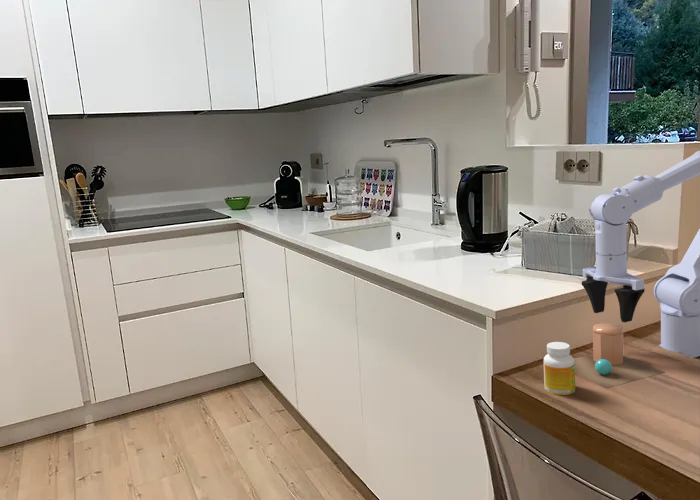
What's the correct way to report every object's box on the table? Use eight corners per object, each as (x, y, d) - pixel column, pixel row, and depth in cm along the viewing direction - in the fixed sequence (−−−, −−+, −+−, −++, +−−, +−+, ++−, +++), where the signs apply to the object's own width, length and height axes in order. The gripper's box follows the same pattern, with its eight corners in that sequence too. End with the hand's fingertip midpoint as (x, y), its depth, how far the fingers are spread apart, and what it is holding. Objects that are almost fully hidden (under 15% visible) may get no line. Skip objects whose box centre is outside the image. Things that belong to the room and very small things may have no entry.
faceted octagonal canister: (609, 352, 114) (608, 321, 113) (629, 361, 109) (629, 328, 107) (587, 358, 112) (586, 326, 111) (607, 366, 107) (606, 333, 106)
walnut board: (609, 355, 116) (609, 349, 115) (665, 378, 102) (665, 372, 102) (555, 368, 112) (555, 363, 111) (606, 394, 98) (606, 388, 98)
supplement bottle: (578, 401, 97) (576, 350, 95) (547, 401, 98) (545, 350, 97) (572, 388, 102) (570, 339, 101) (542, 388, 103) (540, 340, 102)
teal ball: (603, 369, 106) (603, 355, 105) (615, 375, 103) (615, 360, 103) (591, 373, 105) (591, 358, 105) (603, 378, 102) (602, 363, 102)
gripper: (570, 251, 115) (572, 311, 118) (623, 261, 102) (624, 329, 104) (597, 246, 117) (598, 306, 120) (652, 255, 104) (652, 322, 106)
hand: (612, 316), depth 112 cm, fingers open, 7 cm apart
